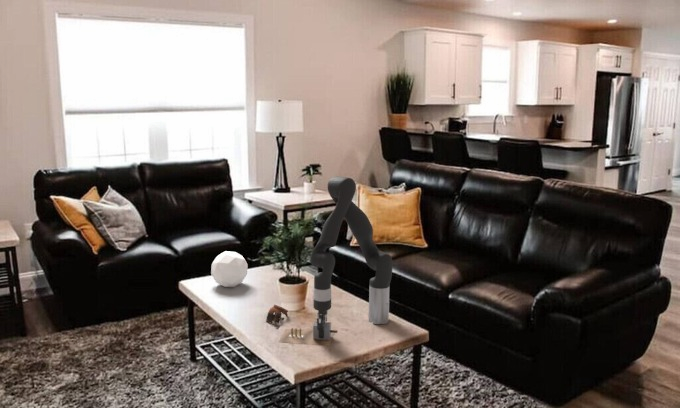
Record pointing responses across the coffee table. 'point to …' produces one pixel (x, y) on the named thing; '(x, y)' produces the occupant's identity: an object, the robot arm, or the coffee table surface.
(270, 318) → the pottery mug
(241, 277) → the geometric orb
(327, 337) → the plug housing
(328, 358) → the coffee table surface
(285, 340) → the header board
